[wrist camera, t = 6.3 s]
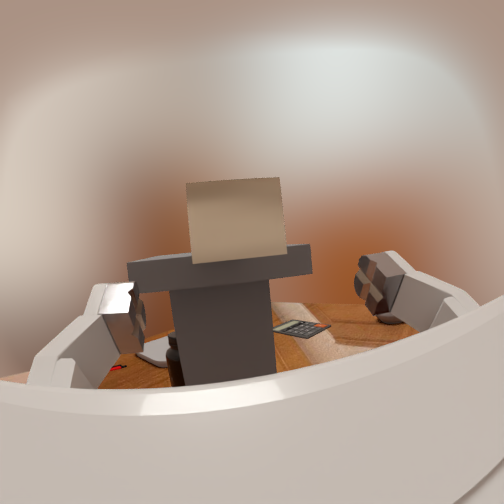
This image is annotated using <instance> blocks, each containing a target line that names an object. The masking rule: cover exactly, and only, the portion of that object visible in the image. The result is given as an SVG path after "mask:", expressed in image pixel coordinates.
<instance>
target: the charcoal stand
mask: <svg viewBox="0 0 504 504" xmlns="http://www.w3.org/2000/svg"><path fill="white" fill-rule="evenodd" d="M286 246H287V254H282V255H273V256H264V257H254V258H245V259H236V260H226V261H217V262H207V263H197V264H193V262H192V253H184V254H174V255H164V256H156V257H152V258H147V259H142V260H137V261H133V262H128V263H127V269H128V278H129V282H131V281H136V282H137V284H138V287H139V291H140V292H139V293H149V292H160V291H169V293H170V299H171V307H172V314H173V321H174V327H175V333H176V339H177V345H178V350H179V356H180V361H181V366H182V371H183V376H184V381H185V386H193V385H202V384H211V383H219V382H227V381H234V380H241V379H247V378H253V377H259V376H265V375H270V374H275V373H277V371H276V359H275V346H274V334H273V323H272V311H271V300H270V288H269V279H276V278H283V277H291V276H299V275H306V274H312V261H311V249H310V244H297V245H296V244H295V245H286Z"/></svg>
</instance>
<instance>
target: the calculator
mask: <svg viewBox="0 0 504 504" xmlns="http://www.w3.org/2000/svg"><path fill="white" fill-rule="evenodd" d="M329 327H331V325H327V324H320V323H313V322H306V321H299V320H290V321H288V322H285V323H283V324H280V325H278V326H275V327H273V332H276V333H281V334H285V335H290V336H295V337H300V338H305V339H308V338H310V337H312V336H314V335H316V334H318V333H320V332H322V331H324V330H325V329H327V328H329Z"/></svg>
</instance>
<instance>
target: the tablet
mask: <svg viewBox="0 0 504 504" xmlns="http://www.w3.org/2000/svg"><path fill="white" fill-rule="evenodd" d="M168 342H169V341H168V336H167V337H163V338H160V339H157V340H154V341H151V342H148V343H145V344H144V351H143V352H140V353H136V354H137V356H138V357H140V358H142V359H144V360H146V361H148V362H150V363H152V364H154V365H156V366H159V367H167V361H166V351H167V350H168V349H169V348H170V346H169V344H168Z"/></svg>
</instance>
